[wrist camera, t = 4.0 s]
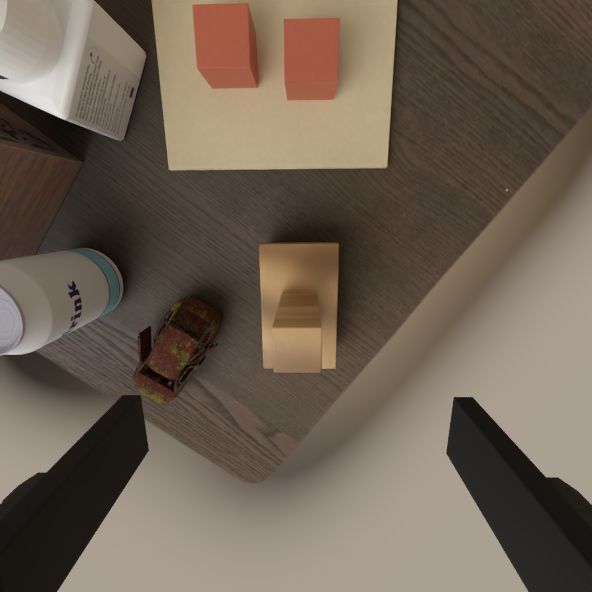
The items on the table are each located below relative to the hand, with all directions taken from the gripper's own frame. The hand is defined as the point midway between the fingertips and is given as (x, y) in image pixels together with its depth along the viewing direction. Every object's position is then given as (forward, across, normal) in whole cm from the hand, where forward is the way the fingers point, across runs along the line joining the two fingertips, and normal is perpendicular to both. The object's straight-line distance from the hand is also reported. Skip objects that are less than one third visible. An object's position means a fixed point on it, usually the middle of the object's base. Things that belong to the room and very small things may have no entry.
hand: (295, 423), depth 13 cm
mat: (+20, -2, +21) cm, 29 cm away
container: (+20, -18, +20) cm, 34 cm away
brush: (+20, 0, 0) cm, 20 cm away
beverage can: (+20, -21, +2) cm, 29 cm away
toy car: (+20, -13, -5) cm, 25 cm away
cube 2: (+19, +1, +20) cm, 28 cm away
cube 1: (+19, -6, +21) cm, 29 cm away
